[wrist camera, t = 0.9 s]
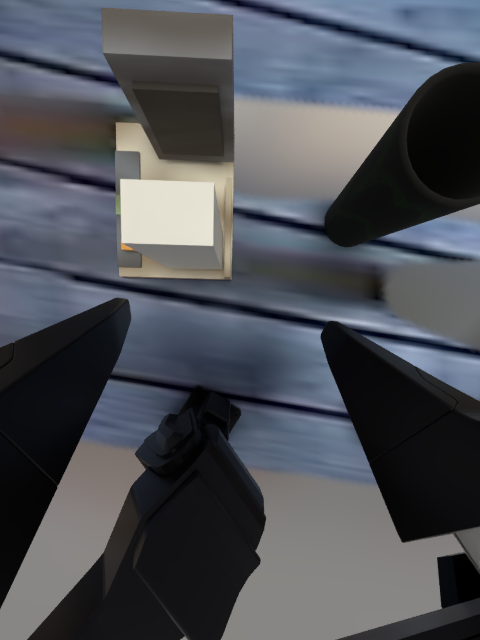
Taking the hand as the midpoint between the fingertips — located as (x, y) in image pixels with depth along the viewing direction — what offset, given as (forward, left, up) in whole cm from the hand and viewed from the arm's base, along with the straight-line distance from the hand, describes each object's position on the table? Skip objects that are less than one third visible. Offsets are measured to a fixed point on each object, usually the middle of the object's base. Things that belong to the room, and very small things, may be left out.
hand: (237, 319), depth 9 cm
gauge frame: (+6, +12, -15) cm, 20 cm away
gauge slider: (+2, +9, -14) cm, 17 cm away
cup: (+15, -6, -15) cm, 22 cm away
